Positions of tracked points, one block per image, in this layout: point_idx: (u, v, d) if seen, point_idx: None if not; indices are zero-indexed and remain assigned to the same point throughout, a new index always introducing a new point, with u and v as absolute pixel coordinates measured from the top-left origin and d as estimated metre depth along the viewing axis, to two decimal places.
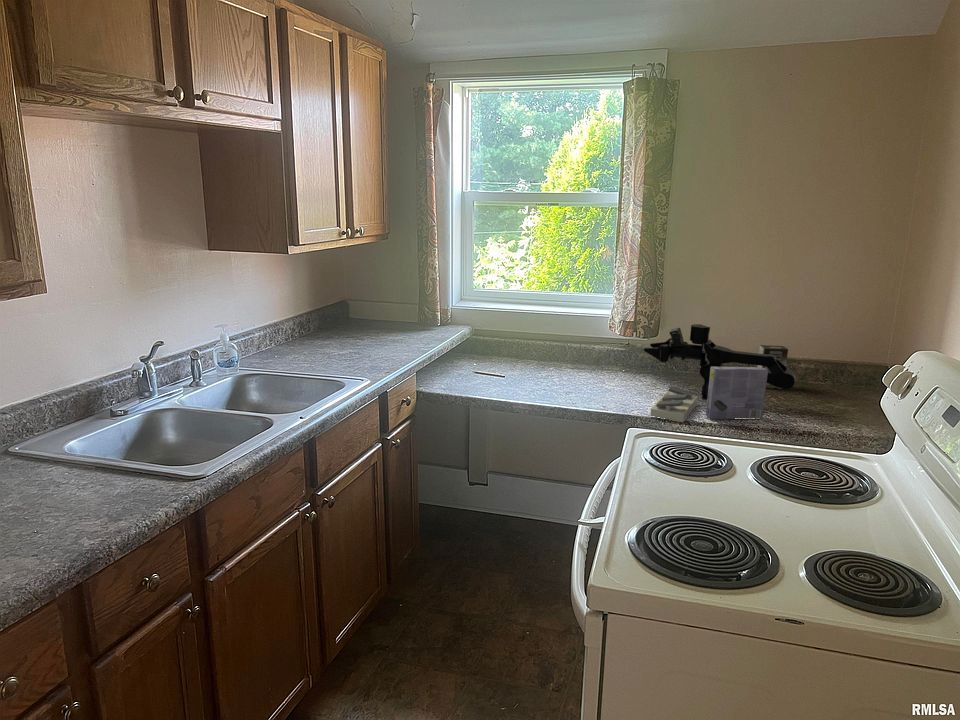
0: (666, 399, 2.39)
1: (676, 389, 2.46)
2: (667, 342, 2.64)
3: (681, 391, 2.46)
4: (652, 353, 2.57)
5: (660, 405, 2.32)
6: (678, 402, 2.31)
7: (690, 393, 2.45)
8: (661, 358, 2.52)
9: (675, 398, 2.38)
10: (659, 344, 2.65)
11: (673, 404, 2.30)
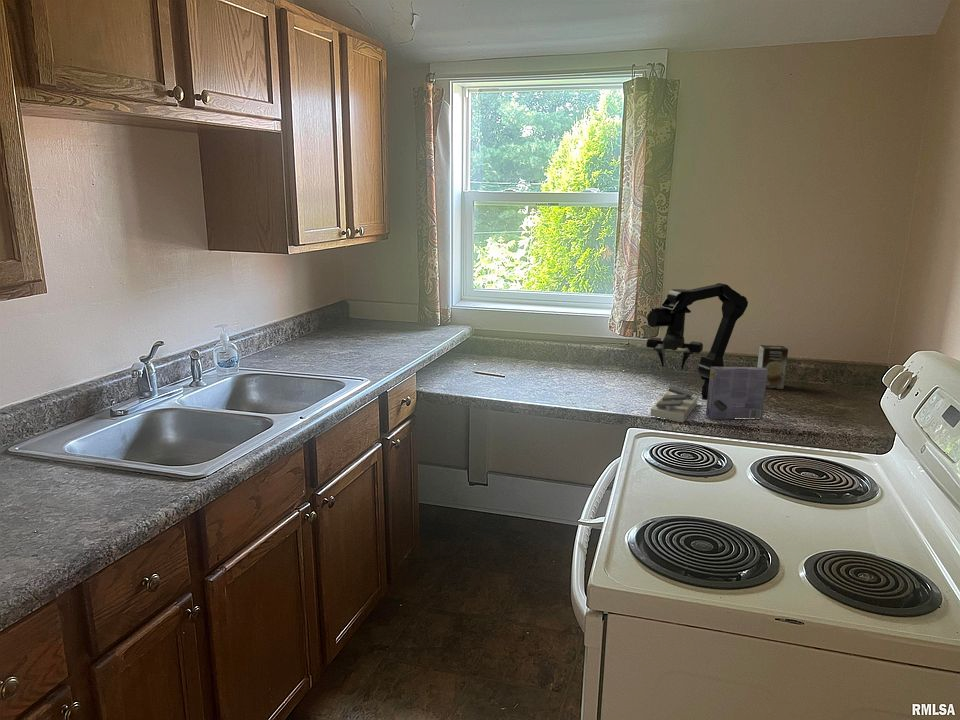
0: (666, 399, 2.39)
1: (676, 389, 2.46)
2: (662, 350, 2.45)
3: (681, 391, 2.46)
4: (686, 359, 2.44)
5: (660, 405, 2.32)
6: (678, 402, 2.31)
7: (690, 393, 2.45)
8: (702, 349, 2.41)
9: (675, 398, 2.38)
10: (663, 358, 2.46)
11: (673, 404, 2.30)
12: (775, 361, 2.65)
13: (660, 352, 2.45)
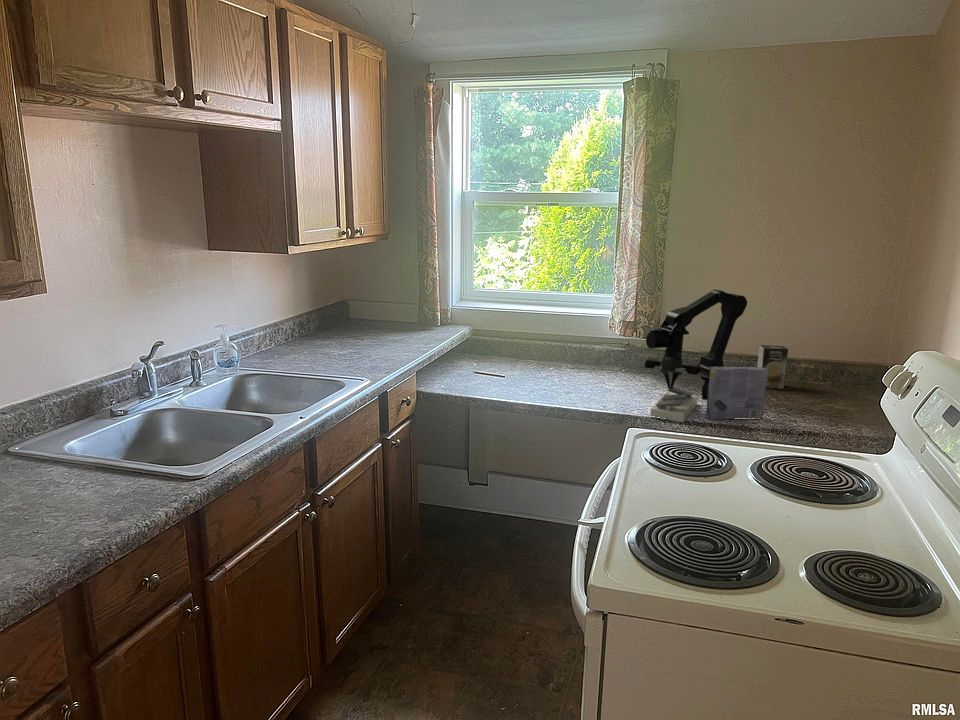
0: (666, 399, 2.39)
1: (676, 389, 2.46)
2: (668, 372, 2.46)
3: (681, 391, 2.46)
4: (676, 379, 2.47)
5: (660, 405, 2.32)
6: (678, 402, 2.31)
7: (690, 393, 2.45)
8: (699, 370, 2.43)
9: (675, 398, 2.38)
10: (669, 379, 2.47)
11: (673, 404, 2.30)
12: (775, 361, 2.65)
13: (666, 374, 2.46)
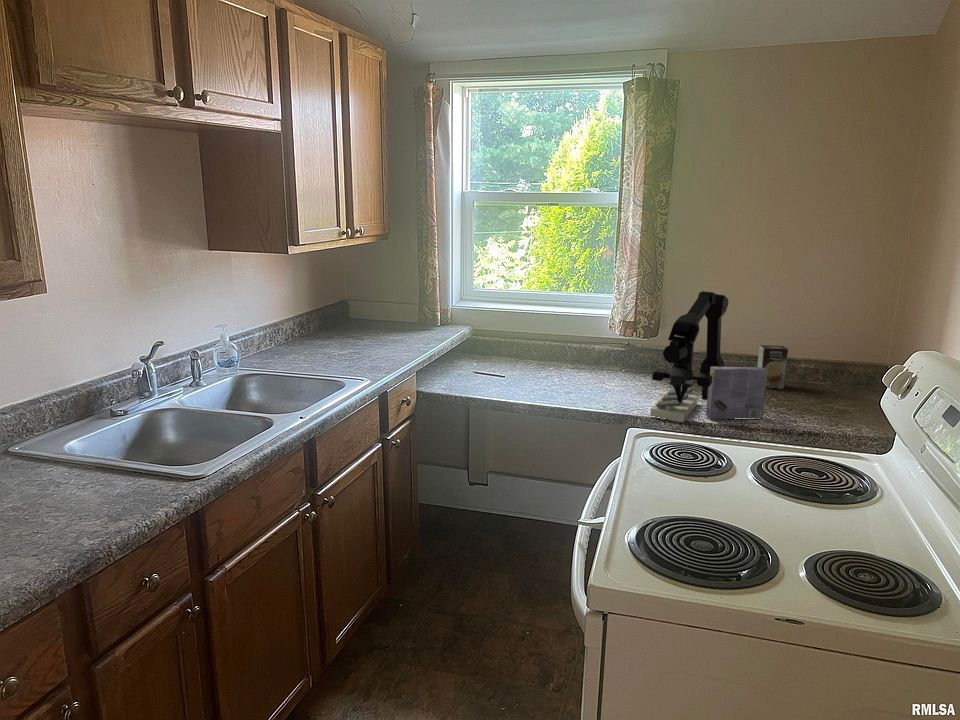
0: (666, 399, 2.39)
1: (674, 391, 2.47)
2: (678, 384, 2.29)
3: None
4: (685, 392, 2.30)
5: (660, 405, 2.32)
6: (678, 402, 2.31)
7: (689, 389, 2.45)
8: (711, 382, 2.26)
9: (675, 398, 2.38)
10: (679, 392, 2.30)
11: (673, 404, 2.30)
12: (775, 361, 2.65)
13: (676, 386, 2.29)
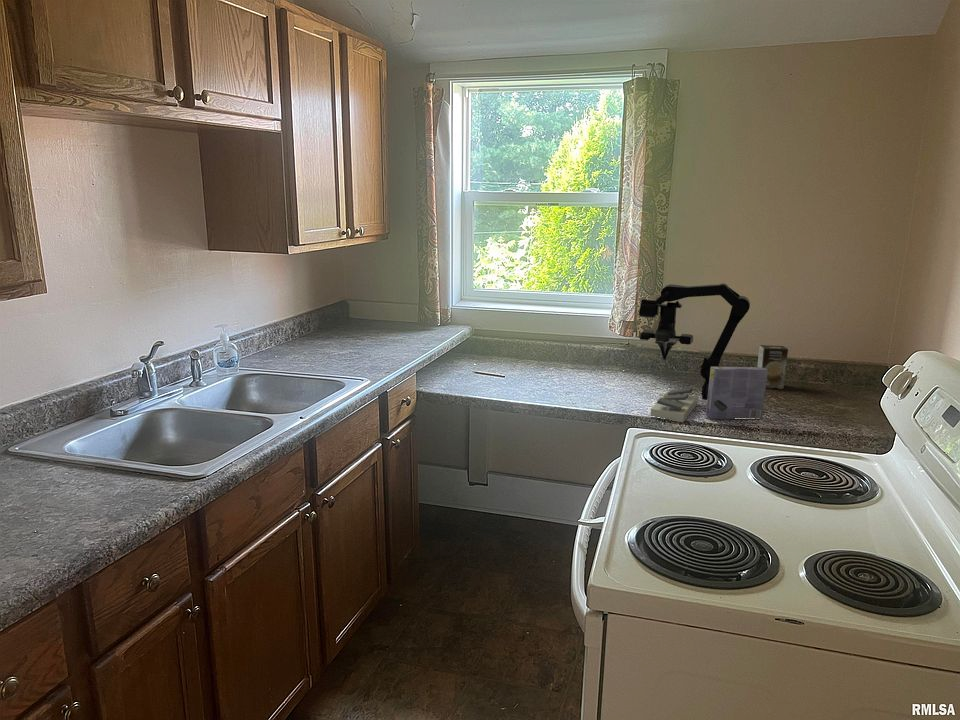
0: None
1: (674, 391, 2.47)
2: (663, 343, 2.56)
3: (680, 390, 2.46)
4: (669, 350, 2.58)
5: (661, 402, 2.32)
6: (679, 405, 2.31)
7: (689, 389, 2.45)
8: (692, 341, 2.54)
9: (675, 398, 2.38)
10: (664, 350, 2.58)
11: (674, 406, 2.30)
12: (775, 361, 2.65)
13: (661, 345, 2.56)
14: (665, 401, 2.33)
